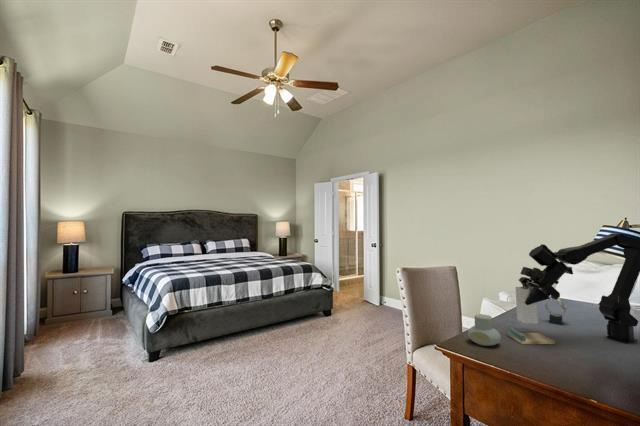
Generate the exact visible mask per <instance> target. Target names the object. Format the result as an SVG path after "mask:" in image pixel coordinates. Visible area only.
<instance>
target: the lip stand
mask: <svg viewBox="0 0 640 426" xmlns="http://www.w3.org/2000/svg"><path fill="white" fill-rule="evenodd" d="M506 331H507V336H508V337H510V338H511V339H513V340H514V341H515V342H517V343H519V344H521V345H545V344H546V345H556V341H555V340H554V339H551V338H549V337H547V336H545V335H544V334H542V333H540V332H520V331H519V330H516V329H514V328H513V327H507V330H506Z"/></svg>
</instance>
